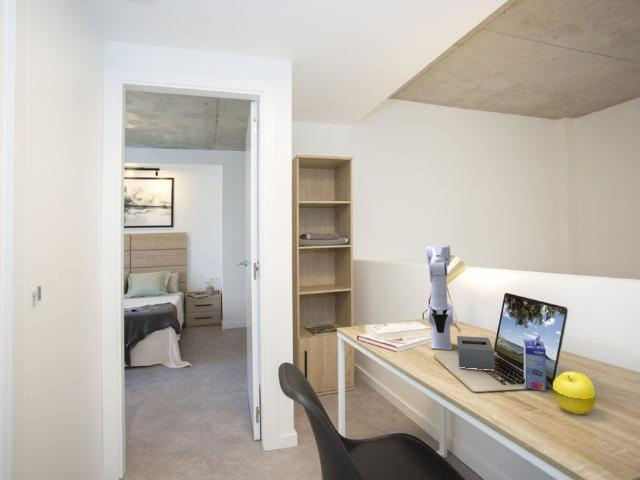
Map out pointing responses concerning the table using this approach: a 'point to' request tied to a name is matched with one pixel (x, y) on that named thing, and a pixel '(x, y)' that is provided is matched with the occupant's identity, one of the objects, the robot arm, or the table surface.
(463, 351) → the money box
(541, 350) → the ink cartridge box
